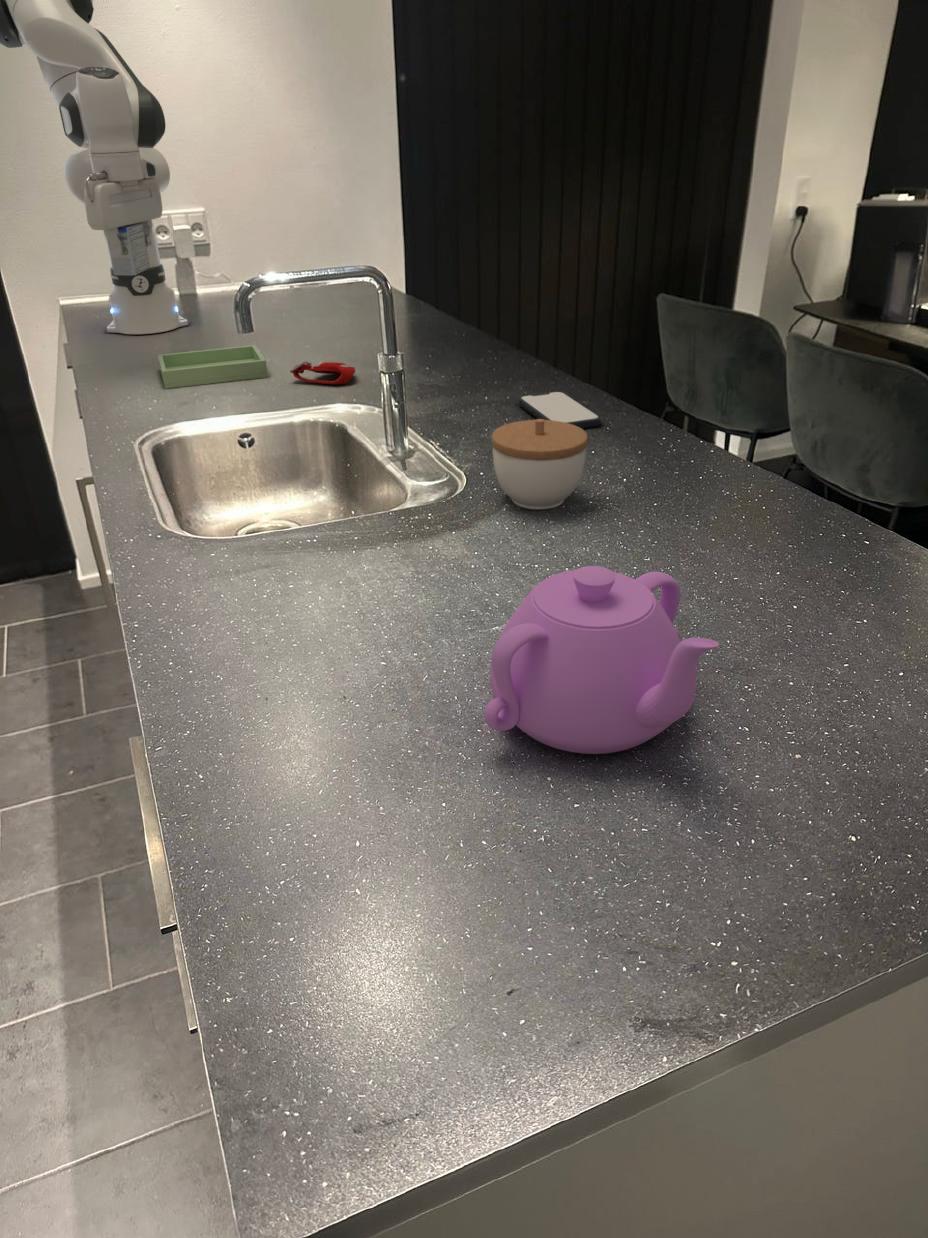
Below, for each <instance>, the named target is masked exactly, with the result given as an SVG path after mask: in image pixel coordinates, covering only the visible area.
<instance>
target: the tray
mask: <svg viewBox="0 0 928 1238" xmlns="http://www.w3.org/2000/svg"><path fill="white" fill-rule="evenodd" d="M157 358H158V364H159V370H160V374H161V378H162V381H163V385H164V389H173V388H175V389H176V388H182V387H192V386H202V385H209V384H210V385H211V384H218V383H219V384H220V383H229V382H236V381H245V380H255V379H263V378H269V377H268V376H269V375H268V369H267V368H268V367H267V361H266V359H265V357H264V356H263V354H262V353H261V351H260V350H259V349H258V346H257V345H255V344H252V345H243V346H232V347H223V348H222V347H221V348H212V349H201V350H193V351H191V350H190V351H182V352H173V353H162V354H157Z"/></svg>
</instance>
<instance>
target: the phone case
mask: <svg viewBox="0 0 928 1238" xmlns="http://www.w3.org/2000/svg"><path fill="white" fill-rule="evenodd" d="M518 405H519V406H520V407H521V408H522V409H524V410H525V411H526V412H528V413H529V414H530V415H532V416H533V417H535V418H536V419H544V420H552V421H560V422H565V423H569V424H573V425H575V426H578V427H580V428H582V429H583V430H584V429H589V428H595V427H599V426H600V425H601V417H600V416H599V415H598V414H596V413H595V412H593V411H592V410H590V409H589V408H587V407H586V406H584V405H583V404H581V403H580V402H578V401H576V400H575V399H574V398H572V397H571V396H569V395H567V394H566V393H565V392H562V391H551V392H545V393H537V394H530V395H522V396H520V397H519V398H518Z"/></svg>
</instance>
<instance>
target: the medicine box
mask: <svg viewBox="0 0 928 1238" xmlns="http://www.w3.org/2000/svg"><path fill="white" fill-rule="evenodd" d="M117 236H118V238H119V240H120V242H121V243H123V244H124V249H125V252H124V253H122V254H114V253H113V252H112V248H111V244H110V243H109V241H108V240H107V241H108V246H109V251H110V257H111V262H112V267H113V272H114V275H124V276H132V275H137V274H138V273H140V272H142V271H144V270H146V269H148V268H150V264H149V258H148V252H147V246H146V240H145V234H144V228H143V223H142V222H139V223H135V224H131V225H126V226H122V227H118V234H117ZM110 257H109V258H110ZM111 262H110V263H111Z"/></svg>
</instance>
